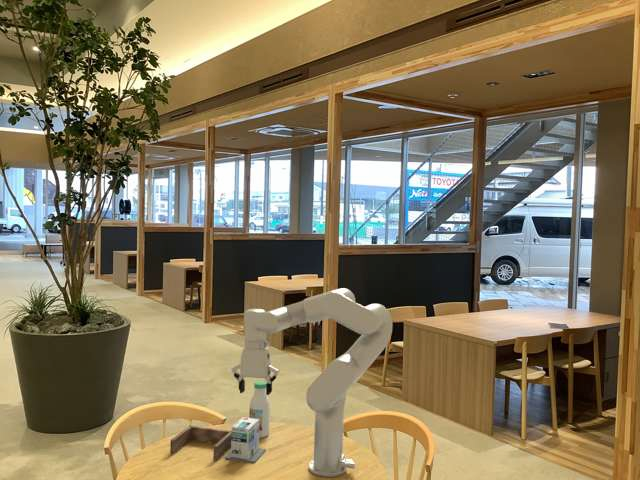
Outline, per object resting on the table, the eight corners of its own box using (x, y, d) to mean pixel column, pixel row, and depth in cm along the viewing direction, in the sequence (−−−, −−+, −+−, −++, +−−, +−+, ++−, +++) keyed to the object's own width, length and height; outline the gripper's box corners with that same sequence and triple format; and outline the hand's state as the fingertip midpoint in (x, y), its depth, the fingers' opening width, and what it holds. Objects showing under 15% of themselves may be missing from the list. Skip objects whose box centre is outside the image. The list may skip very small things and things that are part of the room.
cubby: (233, 444, 213) (233, 431, 213) (216, 461, 199) (217, 446, 199) (189, 438, 218) (190, 425, 217) (170, 454, 203) (170, 440, 203)
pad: (265, 450, 209) (265, 448, 209) (254, 463, 198) (254, 461, 198) (236, 446, 212) (236, 444, 212) (224, 458, 201) (224, 457, 201)
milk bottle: (261, 429, 229) (263, 378, 228) (273, 435, 223) (274, 383, 222) (244, 433, 224) (246, 381, 223) (256, 439, 218) (257, 387, 218)
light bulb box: (248, 460, 199) (249, 429, 198) (230, 457, 201) (230, 426, 200) (259, 448, 209) (260, 418, 209) (241, 445, 211) (242, 416, 211)
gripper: (282, 343, 206) (282, 391, 207) (235, 341, 210) (235, 388, 211) (275, 348, 199) (275, 398, 199) (227, 345, 203) (228, 394, 203)
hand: (255, 393), depth 205 cm, fingers open, 9 cm apart
